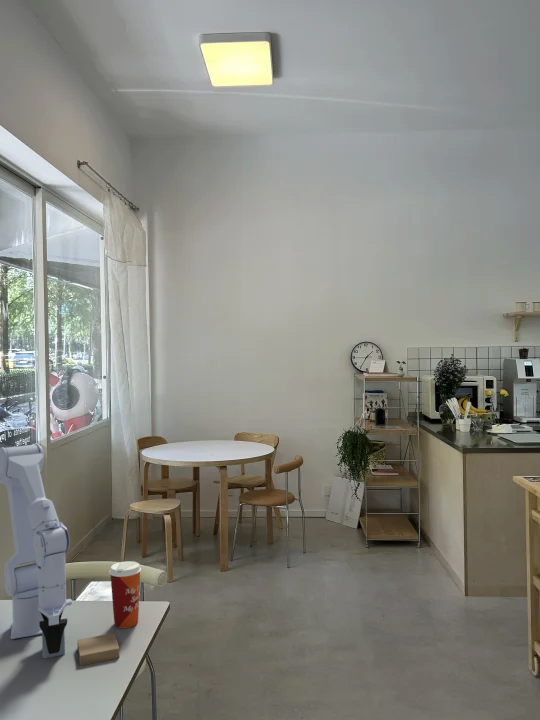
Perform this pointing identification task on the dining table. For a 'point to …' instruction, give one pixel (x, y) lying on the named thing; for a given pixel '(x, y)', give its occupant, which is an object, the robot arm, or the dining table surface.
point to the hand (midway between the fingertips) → (53, 645)
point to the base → (98, 649)
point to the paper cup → (125, 593)
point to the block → (45, 650)
